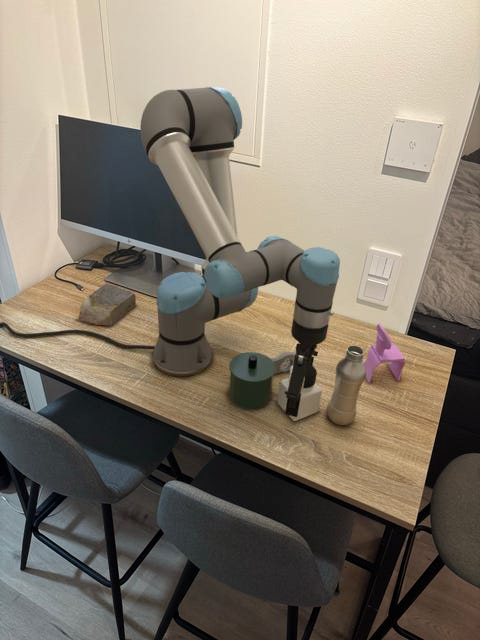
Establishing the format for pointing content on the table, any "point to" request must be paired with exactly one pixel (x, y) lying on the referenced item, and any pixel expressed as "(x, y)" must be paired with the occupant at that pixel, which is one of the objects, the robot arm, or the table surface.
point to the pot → (250, 393)
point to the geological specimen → (107, 305)
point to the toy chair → (384, 355)
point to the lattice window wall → (283, 361)
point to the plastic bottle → (347, 386)
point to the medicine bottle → (303, 394)
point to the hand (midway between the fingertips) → (298, 395)
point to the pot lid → (252, 367)
